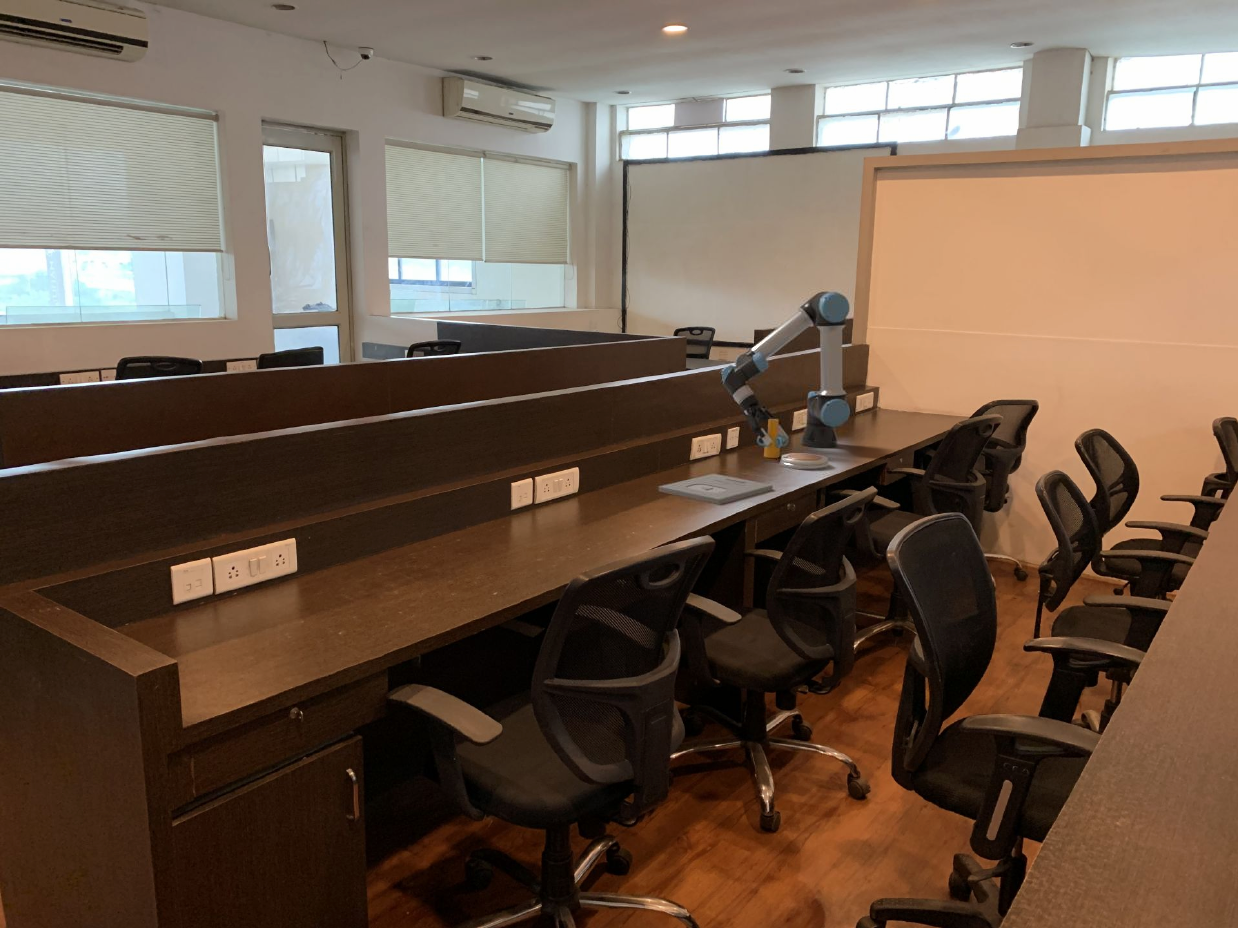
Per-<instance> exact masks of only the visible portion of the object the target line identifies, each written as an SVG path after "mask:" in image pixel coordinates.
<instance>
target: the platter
mask: <svg viewBox="0 0 1238 928" xmlns="http://www.w3.org/2000/svg"><path fill="white" fill-rule="evenodd" d="M781 459H782V462H785V463H788V464H793V465H802V466H818V465H824V464H827V462H828V458H827V457H826V456H823V455H820V454H814V453H804V452H803V453H802V452H801V453H799V452H797V453H796V452H795V453H792V452H791V453H787V454H782V455H781Z"/></svg>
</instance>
